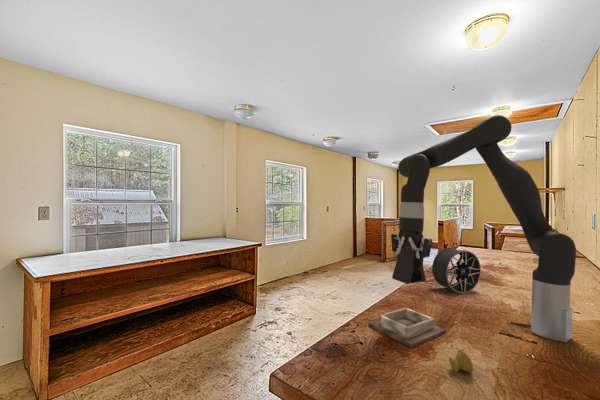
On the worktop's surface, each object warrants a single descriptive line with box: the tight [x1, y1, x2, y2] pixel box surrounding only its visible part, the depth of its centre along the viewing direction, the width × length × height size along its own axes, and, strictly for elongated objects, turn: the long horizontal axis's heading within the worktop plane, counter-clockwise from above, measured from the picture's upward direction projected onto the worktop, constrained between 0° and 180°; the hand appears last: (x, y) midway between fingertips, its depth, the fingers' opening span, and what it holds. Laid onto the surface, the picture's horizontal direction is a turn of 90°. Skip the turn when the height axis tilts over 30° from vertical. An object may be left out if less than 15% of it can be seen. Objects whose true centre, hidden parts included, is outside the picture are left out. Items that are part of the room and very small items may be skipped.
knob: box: [448, 349, 474, 374], centre depth 68 cm, size 5×5×5 cm
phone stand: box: [391, 244, 427, 285], centre depth 91 cm, size 9×6×12 cm, turn 118°
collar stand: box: [368, 306, 447, 349], centre depth 90 cm, size 16×18×4 cm
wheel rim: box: [431, 247, 482, 294], centre depth 134 cm, size 20×9×20 cm, turn 105°
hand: (409, 267), depth 91 cm, fingers closed on phone stand, 6 cm apart
